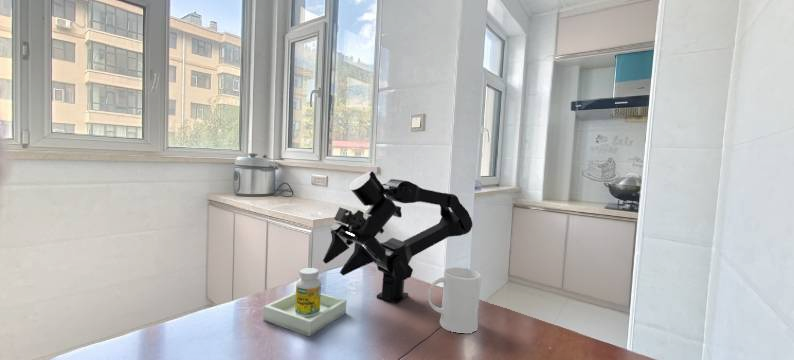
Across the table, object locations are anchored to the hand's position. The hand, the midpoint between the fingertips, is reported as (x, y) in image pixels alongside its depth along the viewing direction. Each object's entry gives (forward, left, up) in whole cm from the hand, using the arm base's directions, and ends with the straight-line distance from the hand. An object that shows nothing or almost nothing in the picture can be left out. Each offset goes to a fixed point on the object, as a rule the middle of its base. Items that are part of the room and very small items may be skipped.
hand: (332, 267), depth 78 cm
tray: (+5, -3, -10) cm, 12 cm away
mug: (-10, +26, -10) cm, 30 cm away
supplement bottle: (+5, -2, -10) cm, 11 cm away
